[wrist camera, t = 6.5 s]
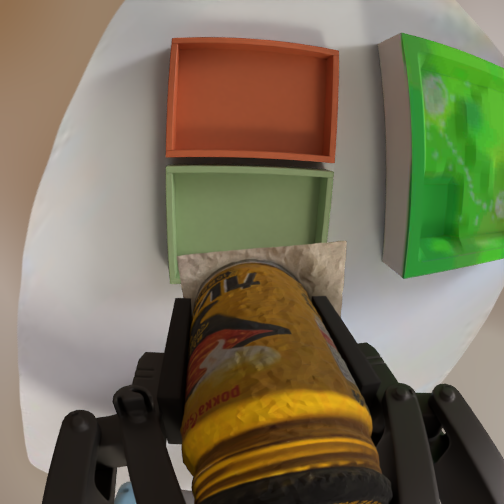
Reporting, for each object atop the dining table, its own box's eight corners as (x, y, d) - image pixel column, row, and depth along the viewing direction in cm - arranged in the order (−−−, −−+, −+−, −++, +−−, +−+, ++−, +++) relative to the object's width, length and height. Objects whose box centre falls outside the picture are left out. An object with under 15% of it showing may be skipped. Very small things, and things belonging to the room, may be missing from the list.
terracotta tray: (325, 161, 29) (334, 163, 27) (169, 156, 28) (165, 157, 25) (330, 56, 26) (339, 50, 23) (175, 45, 24) (171, 38, 21)
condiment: (176, 254, 15) (117, 500, 4) (345, 239, 15) (517, 405, 4) (197, 368, 17) (197, 565, 6) (335, 351, 18) (420, 519, 7)
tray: (509, 83, 27) (533, 83, 23) (505, 242, 36) (526, 252, 31) (377, 44, 25) (401, 32, 21) (382, 261, 34) (403, 278, 29)
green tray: (314, 272, 33) (321, 282, 31) (172, 273, 32) (169, 283, 29) (325, 169, 30) (334, 171, 27) (169, 164, 28) (165, 166, 25)
